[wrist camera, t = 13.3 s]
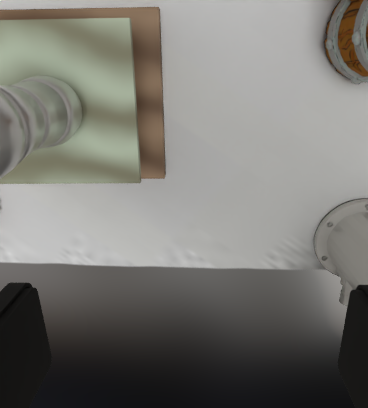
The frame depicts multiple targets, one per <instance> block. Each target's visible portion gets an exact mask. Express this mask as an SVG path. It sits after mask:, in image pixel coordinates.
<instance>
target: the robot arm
mask: <svg viewBox="0 0 368 408" xmlns="http://www.w3.org/2000/svg"><path fill="white" fill-rule="evenodd" d="M328 222H329V223H328ZM314 248H315V253H316V255H317V258H318V260H319V261H320V262H321V264H322V265H323V266H324V267H325V268H326V269H327V270H328V271H329V272H331V273H332V274H335V275H337V276H340V277H341V284H342V285H343V287H342V290H341V294H340V300H339V301H340V303H342V304H343V305H346V306H348V308H347V313H346V319H345V324H344V330H343V336H342V342H341V348H340V354H339V359H338V367H339V372H340V375H341V377H342V379H343V381H344V383H345V385H346V388H347V390H348V392H349V394H350V396H351V399H352V401H353V403H354V405H355V407H356V408H368V199H360V200H354V201H350V202H347V203H345V204H343V205H341V206H339V207H337V208H336V209H334V210H333V211H331V212H330V213H329V214H328V215H327V216H326V217H325V218H324V219H323V221H322V222H321V223H320V225H319V227H318V229H317V231H316V235H315V239H314ZM50 365H51V351H50V347H49V342H48V337H47V333H46V328H45V323H44V319H43V314H42V310H41V305H40V300H39V296H38V291H37V289H36V288H33V287H32V285H31V284H30V283H9V284H8V285H7V286H5V287H4V288H3V289H2V291H1V292H0V408H29V406H30V405H31V403H32V401H33V399H34V397H35V395H36V393H37V391H38V389H39V387H40V385H41V383H42V382H43V380H44V378H45V376H46V374H47V372H48V370H49V368H50Z"/></svg>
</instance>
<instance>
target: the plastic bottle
mask: <svg viewBox="0 0 368 408" xmlns="http://www.w3.org/2000/svg"><path fill="white" fill-rule="evenodd" d="M81 120H82V106H81V102H80V100H79V98H78V96H77V94H76V93H75V91H74V90H73V89H72V88H71V87H70V86H69V85H68V84H66V83H65V82H63V81H61V80H58V79H56V78H54V77H50V76H46V75H37V76H33V77H29V78H27V79H24V80H22V81H20V82H18V83H16V84H12V85H0V178H2V177H3V176H5V175H6V174H7V173H9V172H10V171H12V170H13V169H14V168H15V167H16V166H17V165H18V164H19V163H20V162H21V161H22V160H23V159H24V158H25V157H26V156H27V155H29V154H30V153H32V152H33V151H35V150H38V149H41V148H48V147H53V146H58V145H61V144H63V143H65V142H67V141H68V140H70V139H71V137H72V136H73V135H74V134H75V133H76V131H77V129H78V128H79V126H80V123H81Z"/></svg>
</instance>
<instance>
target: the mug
mask: <svg viewBox="0 0 368 408" xmlns="http://www.w3.org/2000/svg"><path fill="white" fill-rule="evenodd" d="M326 34H327V38H326V39H325V41H324V43H325V49H326V55H327V57H328V59H329V61H330V62H331V64H333V65H334V66H335V67H336V71H338V72H339V73H340V74H342V75H344V76H346V77H347V78H349V79H351V80H352V82H353V83H354V84H360V83H361V82H368V0H341V1H340V2H339V3H338V5H337V6H336V7H335V9H334V10H333V12H332V15H331V21H329V22H328V24H327V28H326Z"/></svg>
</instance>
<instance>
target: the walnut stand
mask: <svg viewBox="0 0 368 408" xmlns="http://www.w3.org/2000/svg"><path fill="white" fill-rule="evenodd" d="M37 75H46V76H50V77H54V78H56V79H58V80H61V81H63V82H65V83H66V84H68V85H69V86H70V87H71V88H72V89H73V90H74V91H75V93H76V94H77V96H78V98H79V100H80V102H81V106H82V120H81V123H80V126H79V128H78V129H77V131H76V133H75V134H74V135H73V136H72V137H71V139H70V140H68V141H67V142H65V143H63V144H61V145H58V146H53V147H48V148H41V149H38V150H35V151H33V152H32V153H30V154H29V155H27V156H26V157H25V158H24V159H23V160H22V161H21V162H20V163H19V164H18V165H17V166H16V167H15V168H14V169H13V170H12V171H10V172H9V173H7V174H6V175H5V176H3V177H2V178H0V184H52V183H140V182H141V179H146V178H165V174H166V172H165V143H164V114H163V85H162V56H161V27H160V9H159V7H137V8H84V9H31V10H0V85H12V84H16V83H18V82H20V81H22V80H24V79H27V78H29V77H33V76H37Z"/></svg>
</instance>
